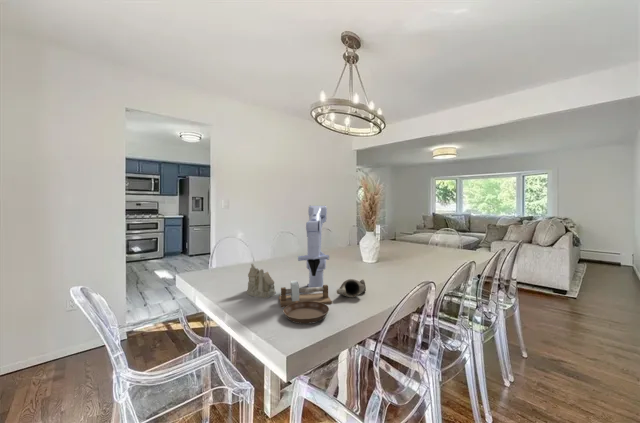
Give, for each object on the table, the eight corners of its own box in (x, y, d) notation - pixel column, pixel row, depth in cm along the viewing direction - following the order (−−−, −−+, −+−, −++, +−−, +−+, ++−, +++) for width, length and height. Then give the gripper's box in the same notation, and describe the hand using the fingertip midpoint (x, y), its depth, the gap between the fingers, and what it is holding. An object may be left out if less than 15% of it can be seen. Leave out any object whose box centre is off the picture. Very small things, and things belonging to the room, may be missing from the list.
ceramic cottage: (263, 299, 129) (264, 265, 130) (240, 294, 139) (240, 263, 140) (286, 292, 142) (287, 262, 143) (263, 288, 152) (264, 259, 152)
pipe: (343, 310, 138) (345, 303, 125) (332, 294, 141) (333, 286, 128) (369, 290, 142) (374, 281, 129) (358, 276, 146) (361, 266, 133)
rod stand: (279, 298, 131) (279, 284, 131) (325, 294, 135) (325, 281, 135) (281, 307, 119) (280, 292, 119) (331, 303, 124) (331, 289, 124)
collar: (290, 296, 130) (290, 281, 129) (297, 295, 130) (297, 280, 130) (292, 301, 123) (292, 285, 123) (299, 301, 123) (299, 285, 123)
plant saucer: (291, 330, 99) (291, 321, 99) (277, 312, 115) (277, 304, 115) (337, 321, 106) (337, 313, 106) (318, 305, 122) (318, 298, 122)
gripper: (299, 248, 127) (299, 278, 128) (330, 247, 130) (330, 276, 131) (297, 246, 134) (297, 274, 135) (327, 245, 137) (327, 273, 137)
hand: (313, 275), depth 133 cm, fingers closed
